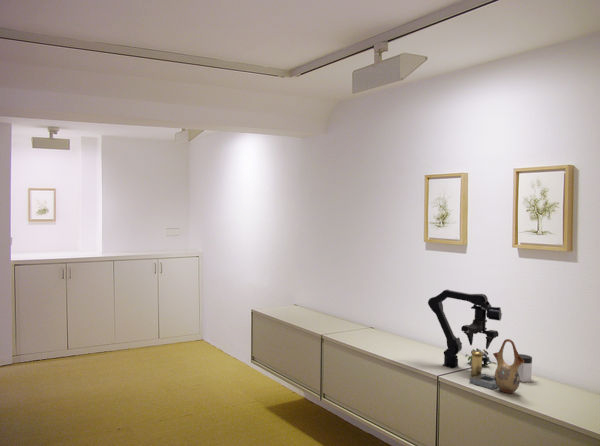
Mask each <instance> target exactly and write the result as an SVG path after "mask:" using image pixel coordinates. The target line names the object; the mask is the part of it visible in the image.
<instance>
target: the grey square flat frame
mask: <svg viewBox="0 0 600 446" xmlns="http://www.w3.org/2000/svg"><path fill="white" fill-rule="evenodd" d="M470 383H471V384H472V385H475V386H479V387H483V388H487V389H489V390H495V389H497V388H498V386H497V385H496V382H495V376H493V375H489V374H486V373H481V374H480V375H477V376H474V377H471V376H470V377H469V384H470ZM498 389H499V388H498Z"/></svg>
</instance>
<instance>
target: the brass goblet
mask: <svg viewBox="0 0 600 446" xmlns="http://www.w3.org/2000/svg"><path fill="white" fill-rule="evenodd" d="M481 351H482V350H481ZM481 351H477V350H476V349H474V350H473V349H472V350H470V354H471V356H472V362H471V365H470V366H471V367H470V368H471V369H470V378H471V377H474V376H477V375H480V374H482V367H483V361H482V355H483V352H484V351H482V352H481Z"/></svg>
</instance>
